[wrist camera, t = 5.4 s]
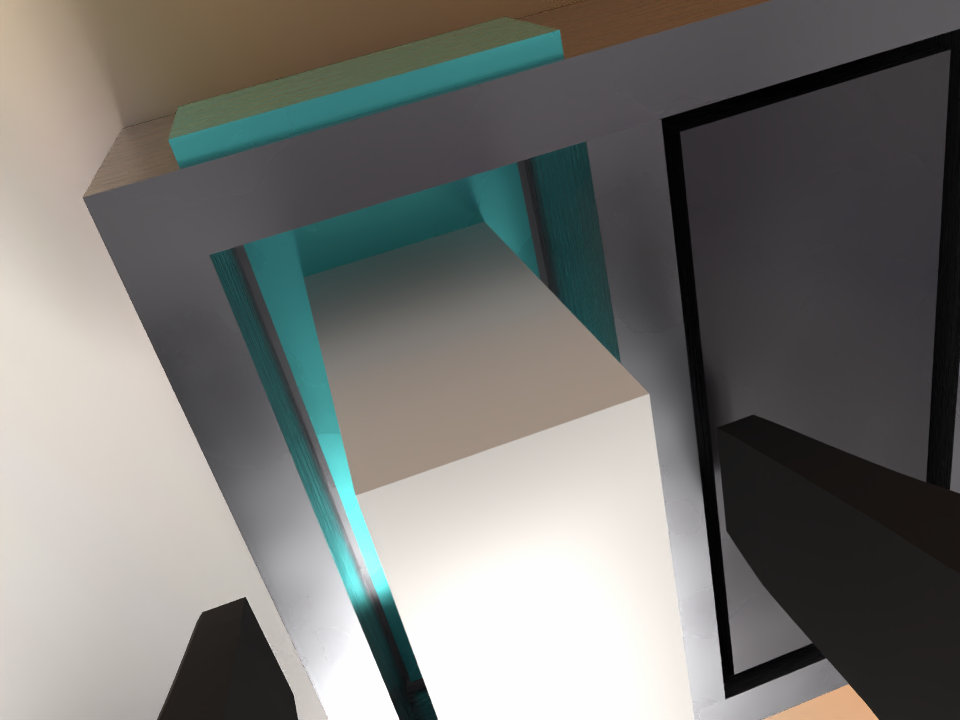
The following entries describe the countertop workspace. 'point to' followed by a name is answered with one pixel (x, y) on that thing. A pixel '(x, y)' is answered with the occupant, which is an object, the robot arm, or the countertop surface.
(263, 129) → the rack
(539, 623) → the block
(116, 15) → the countertop surface
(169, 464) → the countertop surface
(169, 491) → the countertop surface
